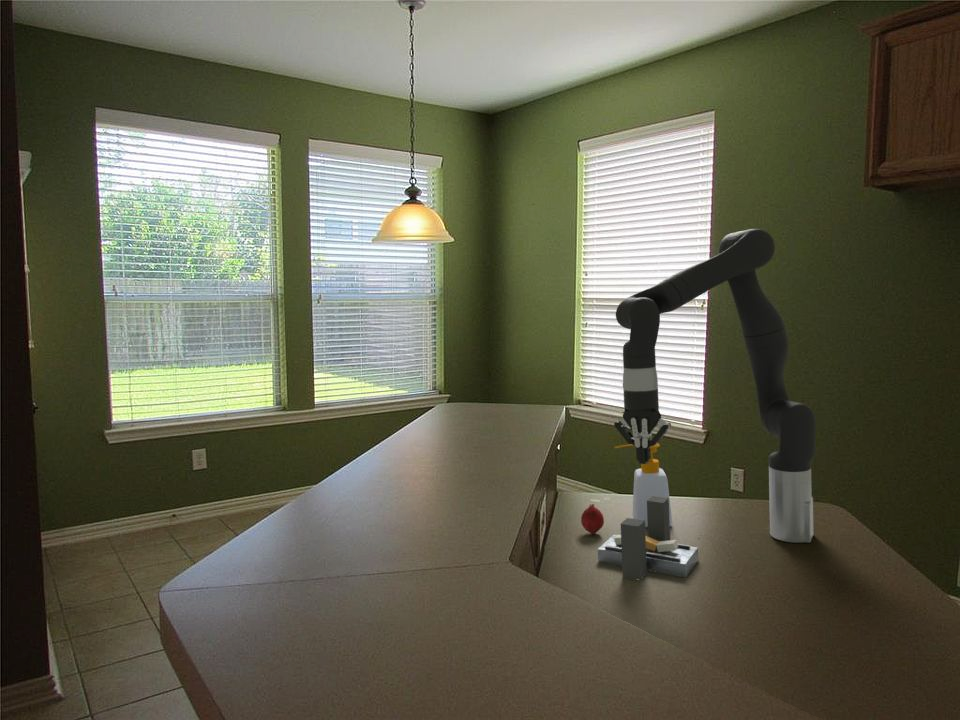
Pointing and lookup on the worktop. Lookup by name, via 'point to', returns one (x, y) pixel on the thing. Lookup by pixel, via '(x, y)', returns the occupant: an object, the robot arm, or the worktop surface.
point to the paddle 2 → (667, 545)
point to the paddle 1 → (618, 540)
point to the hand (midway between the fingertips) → (643, 462)
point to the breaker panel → (654, 558)
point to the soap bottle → (648, 486)
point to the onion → (592, 519)
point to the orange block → (651, 543)
